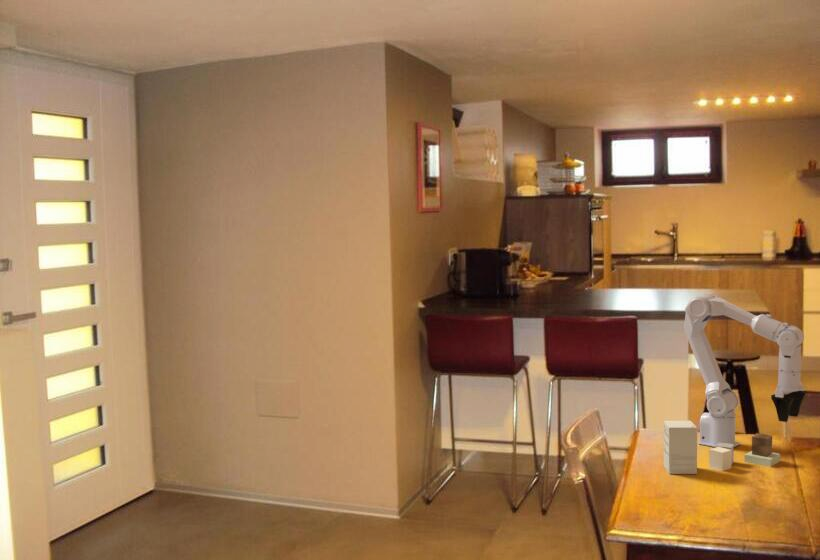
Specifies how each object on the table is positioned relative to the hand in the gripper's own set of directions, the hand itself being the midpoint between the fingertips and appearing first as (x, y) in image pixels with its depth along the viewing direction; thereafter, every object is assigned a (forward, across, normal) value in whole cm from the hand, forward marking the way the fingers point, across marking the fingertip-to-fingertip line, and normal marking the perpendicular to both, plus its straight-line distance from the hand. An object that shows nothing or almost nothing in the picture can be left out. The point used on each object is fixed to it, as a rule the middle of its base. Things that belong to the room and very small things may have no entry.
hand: (788, 418), depth 239 cm
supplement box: (+11, -32, +16) cm, 37 cm away
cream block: (+10, -23, +9) cm, 27 cm away
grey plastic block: (+10, -18, +10) cm, 23 cm away
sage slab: (+11, -10, +3) cm, 15 cm away
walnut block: (+8, -10, +3) cm, 13 cm away
